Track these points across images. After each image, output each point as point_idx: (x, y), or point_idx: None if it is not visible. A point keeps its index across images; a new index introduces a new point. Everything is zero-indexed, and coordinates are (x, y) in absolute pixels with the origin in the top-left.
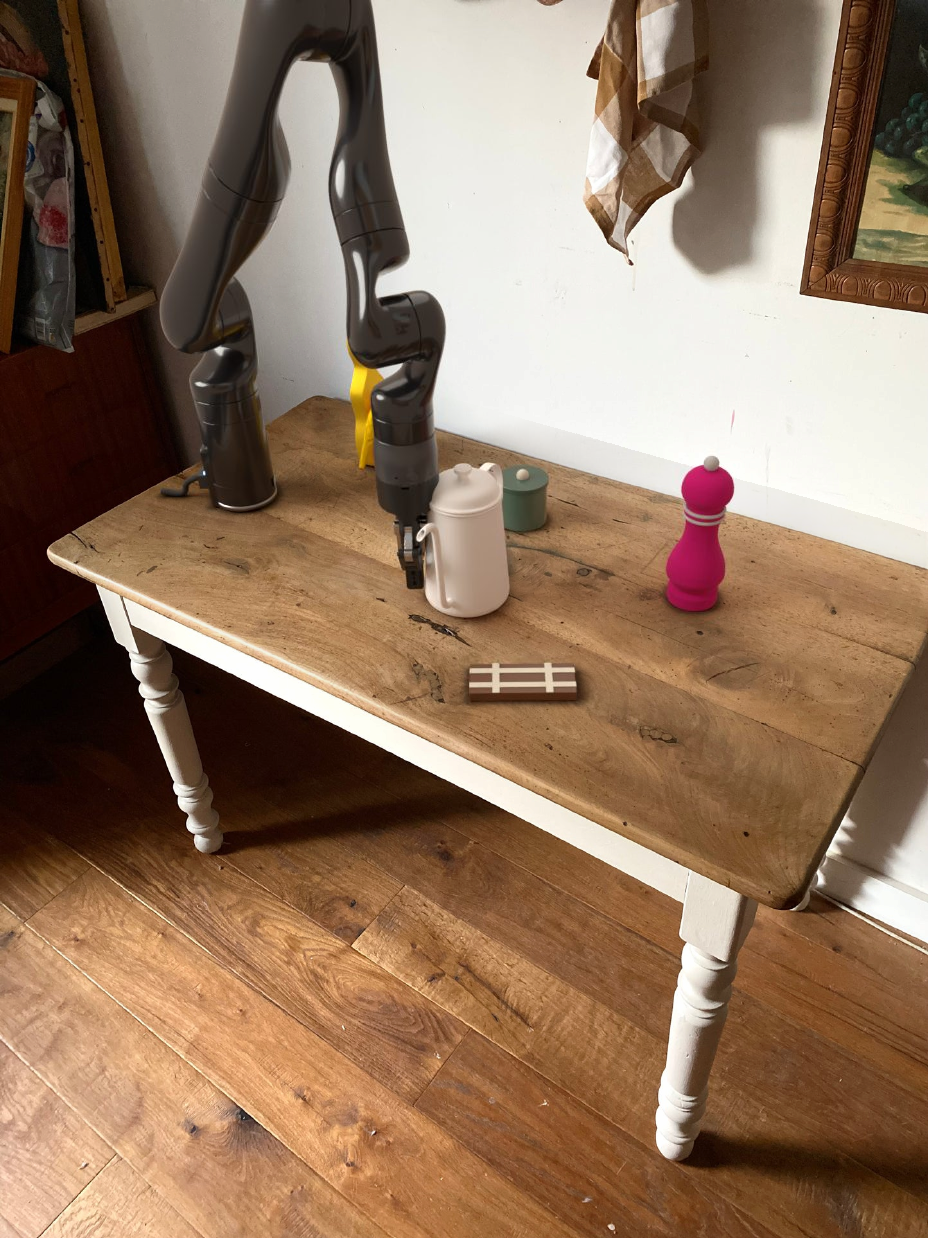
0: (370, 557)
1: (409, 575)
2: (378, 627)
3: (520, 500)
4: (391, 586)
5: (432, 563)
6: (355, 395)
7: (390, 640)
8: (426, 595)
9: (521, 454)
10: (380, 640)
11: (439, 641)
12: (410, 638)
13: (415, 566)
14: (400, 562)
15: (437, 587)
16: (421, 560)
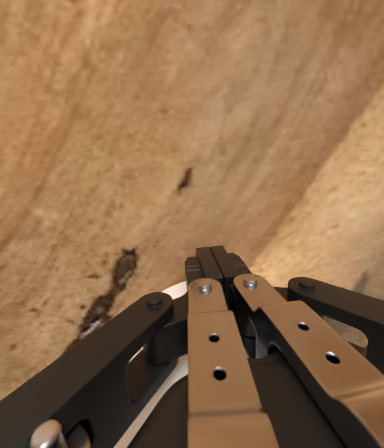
0: (351, 127)
1: (187, 279)
2: (81, 190)
3: None
4: (235, 195)
5: (145, 414)
6: None
7: (40, 224)
8: (175, 288)
9: None
10: (35, 202)
11: (57, 316)
12: (56, 263)
13: (144, 351)
14: (35, 379)
15: (133, 356)
16: (164, 377)
